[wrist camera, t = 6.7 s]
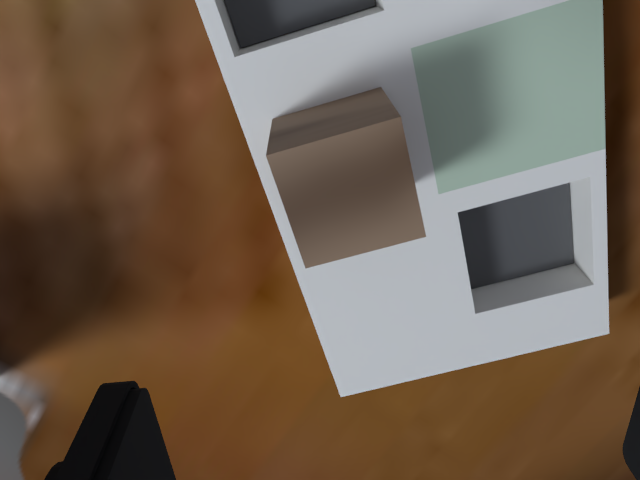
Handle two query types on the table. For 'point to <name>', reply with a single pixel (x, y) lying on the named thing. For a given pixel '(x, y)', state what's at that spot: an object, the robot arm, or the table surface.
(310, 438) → the table surface
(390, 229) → the walnut block
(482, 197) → the deck
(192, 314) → the table surface
